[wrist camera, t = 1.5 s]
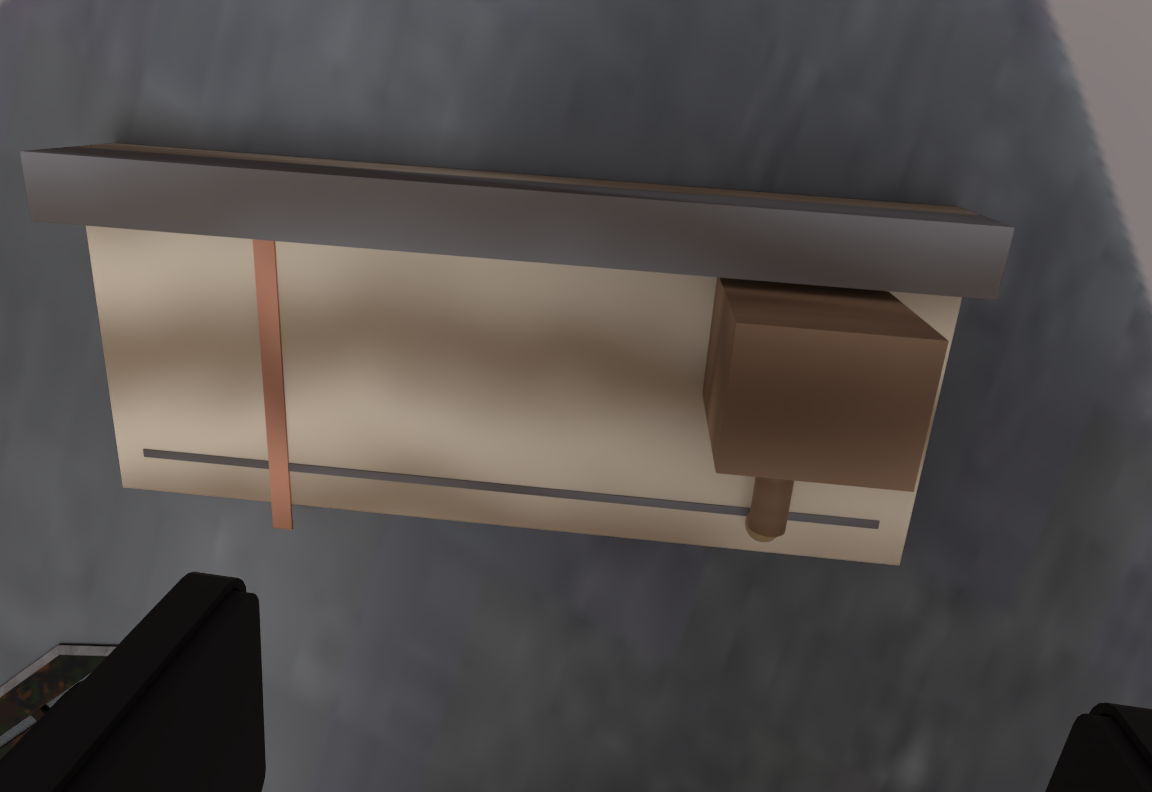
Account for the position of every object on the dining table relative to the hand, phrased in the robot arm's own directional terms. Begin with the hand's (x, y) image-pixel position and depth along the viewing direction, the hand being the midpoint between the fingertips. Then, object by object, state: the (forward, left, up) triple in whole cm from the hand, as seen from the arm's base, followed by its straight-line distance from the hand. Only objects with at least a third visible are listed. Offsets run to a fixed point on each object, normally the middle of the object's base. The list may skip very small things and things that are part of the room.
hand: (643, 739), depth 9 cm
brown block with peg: (-2, -4, -18) cm, 19 cm away
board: (-2, +5, -20) cm, 21 cm away
